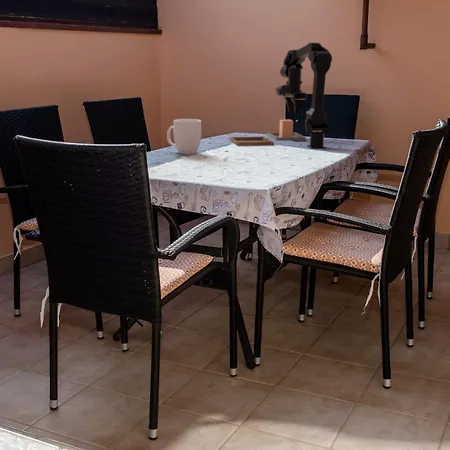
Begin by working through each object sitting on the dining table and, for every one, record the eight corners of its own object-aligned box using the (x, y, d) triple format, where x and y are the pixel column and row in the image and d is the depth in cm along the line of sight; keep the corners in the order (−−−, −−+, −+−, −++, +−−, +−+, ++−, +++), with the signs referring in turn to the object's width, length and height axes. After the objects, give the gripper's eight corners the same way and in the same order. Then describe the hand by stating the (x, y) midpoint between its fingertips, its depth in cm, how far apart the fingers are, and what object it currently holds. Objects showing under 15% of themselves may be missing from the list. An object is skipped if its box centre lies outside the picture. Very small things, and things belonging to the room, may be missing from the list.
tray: (305, 141, 297) (305, 137, 297) (275, 141, 294) (276, 137, 294) (295, 136, 312) (295, 132, 312) (266, 136, 309) (266, 132, 309)
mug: (160, 152, 260) (159, 120, 257) (174, 149, 269) (174, 117, 266) (192, 156, 254) (192, 122, 250) (206, 152, 263) (206, 119, 259)
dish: (273, 146, 280) (273, 141, 280) (237, 147, 277) (237, 142, 277) (264, 141, 295) (264, 136, 295) (229, 141, 292) (229, 137, 292)
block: (292, 138, 301) (293, 120, 299) (282, 138, 300) (282, 120, 298) (289, 136, 306) (290, 119, 304) (279, 136, 305) (279, 119, 303)
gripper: (271, 77, 302) (270, 111, 307) (283, 79, 285) (282, 115, 289) (294, 77, 305) (293, 111, 309) (308, 79, 287) (306, 115, 291)
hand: (293, 113), depth 299 cm, fingers open, 9 cm apart
